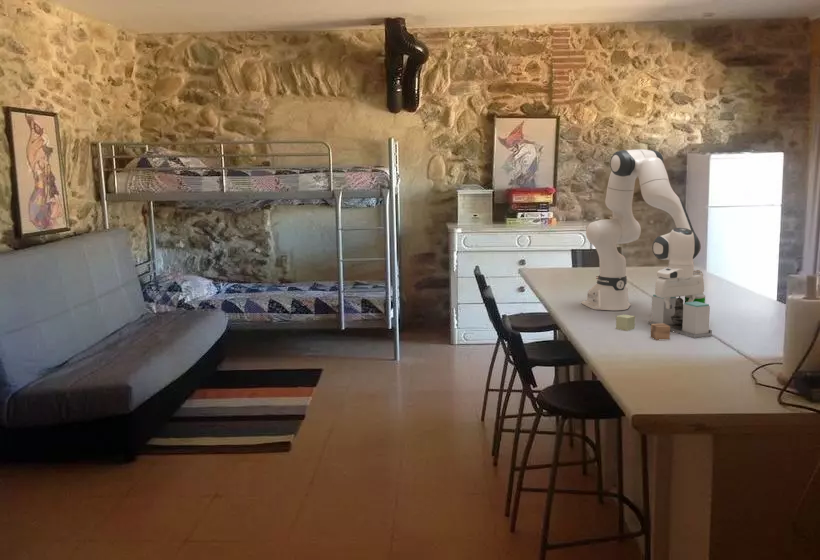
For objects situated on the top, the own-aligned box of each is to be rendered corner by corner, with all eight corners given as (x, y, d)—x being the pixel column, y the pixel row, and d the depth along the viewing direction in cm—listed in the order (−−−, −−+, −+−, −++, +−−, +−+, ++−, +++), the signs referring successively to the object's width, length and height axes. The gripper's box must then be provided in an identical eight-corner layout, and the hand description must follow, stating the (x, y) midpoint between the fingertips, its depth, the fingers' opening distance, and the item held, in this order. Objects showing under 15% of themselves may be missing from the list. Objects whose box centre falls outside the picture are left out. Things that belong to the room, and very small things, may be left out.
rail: (648, 323, 299) (648, 318, 298) (665, 322, 301) (665, 316, 301) (694, 338, 274) (694, 332, 274) (711, 335, 277) (711, 330, 277)
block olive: (616, 328, 292) (616, 316, 291) (623, 326, 295) (623, 314, 294) (627, 331, 288) (627, 318, 287) (634, 328, 291) (635, 316, 290)
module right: (682, 330, 282) (683, 302, 280) (695, 328, 284) (696, 301, 282) (695, 334, 275) (696, 305, 273) (708, 332, 277) (709, 304, 275)
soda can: (691, 325, 295) (692, 294, 294) (680, 321, 303) (681, 291, 301) (708, 323, 297) (709, 293, 296) (696, 319, 305) (697, 290, 303)
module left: (651, 321, 298) (652, 294, 297) (663, 319, 300) (664, 293, 299) (663, 324, 292) (663, 297, 290) (675, 323, 294) (676, 296, 292)
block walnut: (650, 337, 278) (651, 323, 277) (663, 336, 278) (664, 323, 277) (656, 340, 273) (656, 326, 272) (669, 339, 273) (670, 326, 272)
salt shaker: (683, 324, 291) (684, 294, 289) (689, 328, 285) (690, 296, 283) (668, 325, 291) (669, 294, 289) (673, 328, 285) (674, 297, 283)
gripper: (697, 268, 291) (695, 303, 293) (653, 272, 284) (651, 308, 286) (708, 270, 285) (706, 306, 287) (664, 274, 278) (662, 311, 280)
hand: (679, 307), depth 287 cm, fingers open, 8 cm apart
